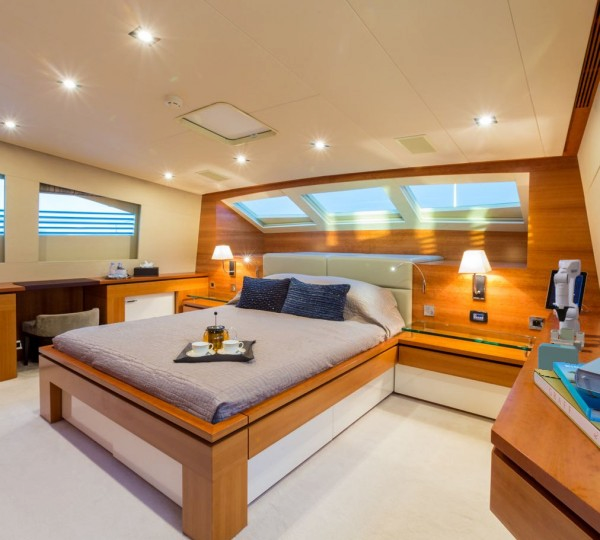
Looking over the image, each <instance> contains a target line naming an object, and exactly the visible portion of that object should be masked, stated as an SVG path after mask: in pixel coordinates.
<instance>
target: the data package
mask: <svg viewBox="0 0 600 540" xmlns="http://www.w3.org/2000/svg"><path fill="white" fill-rule="evenodd" d="M579 353H580V352H579V351H578V349H577V348H576V347H574V346H570V345H561V344H551V343H549V342H548V343H547V342H543V343H540V344H539V346H538V347H537V370H538V369H542V370H549V371H552V370H553V362H565V363H570V364H576V365H577V364H580V363H579V362H580V361H579V359H580V358H579Z"/></svg>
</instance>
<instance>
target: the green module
mask: <svg viewBox="0 0 600 540" xmlns="http://www.w3.org/2000/svg"><path fill="white" fill-rule="evenodd" d="M559 333H560V335H559V339H560V340H569V341H575V336H574V329H571V328H561V329H560V328H559Z"/></svg>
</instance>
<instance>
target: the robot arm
mask: <svg viewBox="0 0 600 540" xmlns="http://www.w3.org/2000/svg"><path fill="white" fill-rule="evenodd" d="M581 269H582V262H581V260H580V259H560V260H559V261H558V271H557V273H554V276H553V282H554V287H555V302H553V303H552V305H554V306H556V307H555V308H554V310H555V316H556V318H557V319H558V321H559V330H560V329H561V328H571V329H574V337H576V333H577V332H581V323H580V321H579V320H578V319H579V318H580V317H579V316H580V315H579V313H580V312H579V306H578V305H577V304H576V303H574V293H575V281H576V278H577V277H579V276H580V275H581ZM559 336H560V332H559Z"/></svg>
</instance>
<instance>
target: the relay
mask: <svg viewBox="0 0 600 540" xmlns="http://www.w3.org/2000/svg"><path fill="white" fill-rule="evenodd" d="M573 346H574V347H576V348H577V349H578V351H581V352H582V348H583V347H582V342H581V341H576V340H574V342H573Z"/></svg>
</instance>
